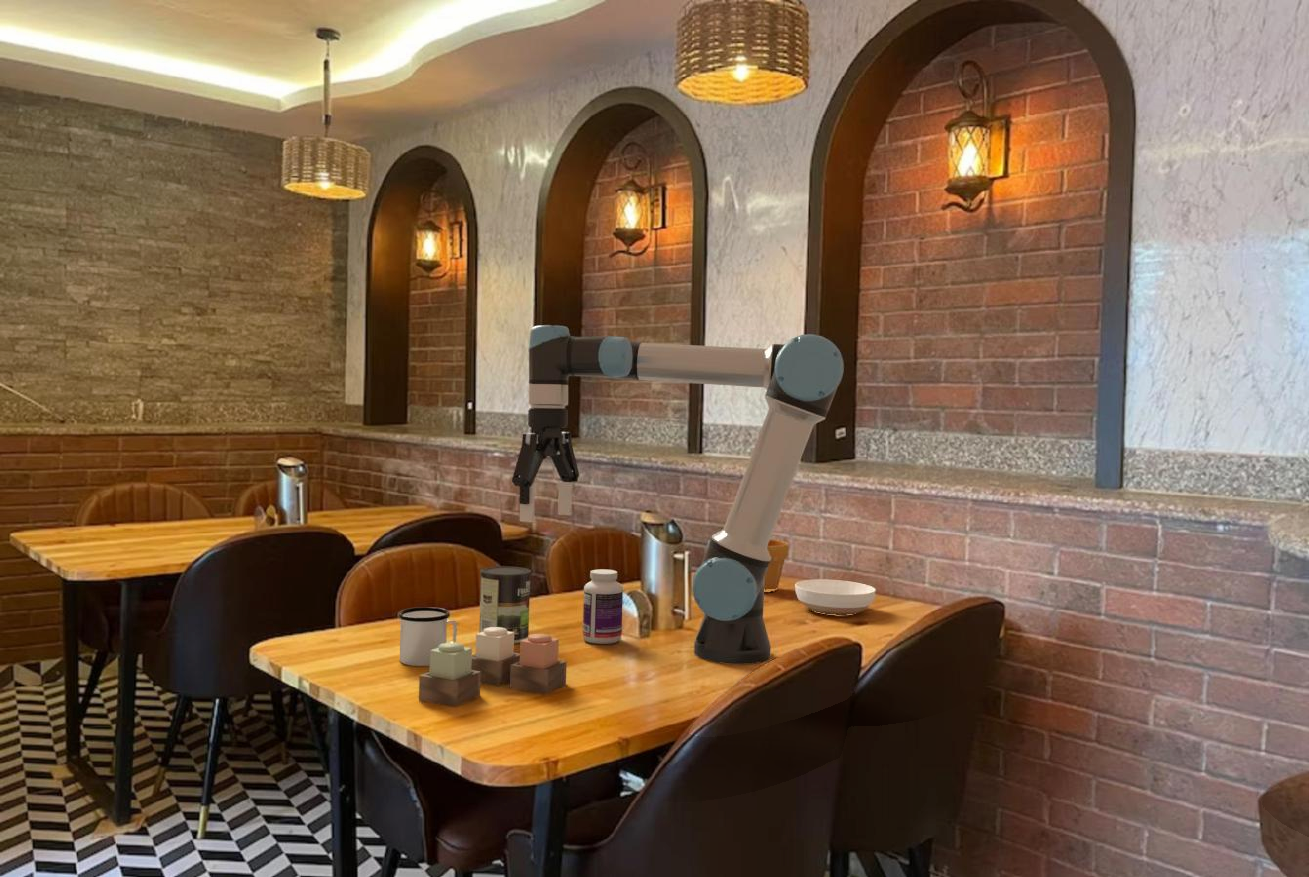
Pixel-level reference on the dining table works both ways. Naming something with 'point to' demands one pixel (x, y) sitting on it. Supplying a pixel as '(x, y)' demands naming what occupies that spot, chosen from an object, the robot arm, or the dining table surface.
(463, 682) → the brown square tray
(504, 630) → the cap cream
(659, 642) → the dining table surface
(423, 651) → the mug
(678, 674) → the dining table surface
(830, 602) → the bowl
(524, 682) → the collar brown
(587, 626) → the pill bottle
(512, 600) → the coffee can
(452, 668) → the cap sage
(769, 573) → the flower pot
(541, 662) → the cap terracotta
